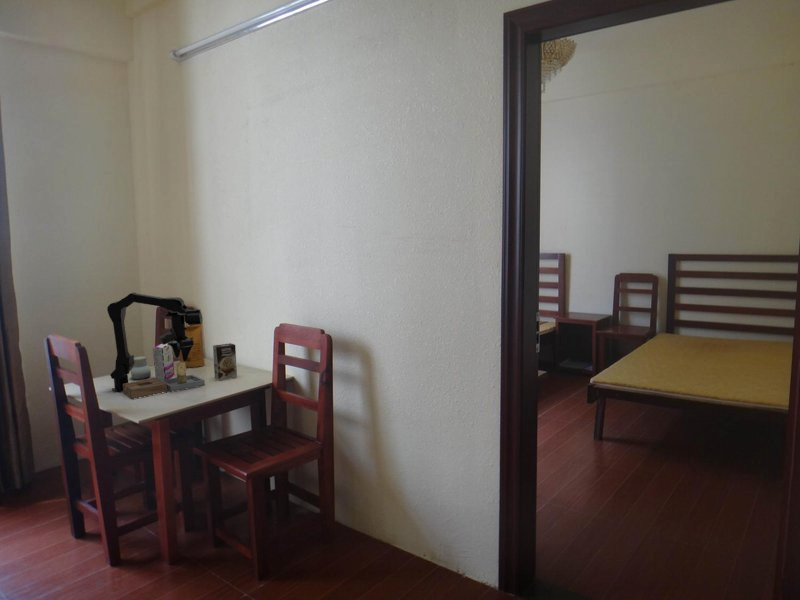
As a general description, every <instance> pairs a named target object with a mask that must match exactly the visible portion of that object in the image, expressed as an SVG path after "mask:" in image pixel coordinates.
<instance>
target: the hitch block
mask: <svg viewBox="0 0 800 600" xmlns="http://www.w3.org/2000/svg"><path fill="white" fill-rule="evenodd" d="M122 392H123V394H124V395H126V396H127V395H128V396H127V397H129V398H130V397H131V399H132V398H133V399H132V400H135V399H134V398H137V399H140V398H139V397H142V398H145V397H144V396H147V397H150V396H149V395H152V396H154V395H153V394H157V393H161V394H163V393H162V392H166V393H168V390H167V386H166V383H164V382H163V381H161V380H159V379H157V378H156V377H152V378H145V379H140V380H137V381H132V382H131V381H130V382H128V383H125V384H123V391H122ZM157 395H158V394H157Z"/></svg>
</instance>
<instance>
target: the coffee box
mask: <svg viewBox="0 0 800 600" xmlns="http://www.w3.org/2000/svg"><path fill="white" fill-rule="evenodd" d="M212 350H213V351H212V352H213V355H212V356H213V369H214V370H213V372H214V379H215V380H217V381H218V380H219V381H220V382H221V381H225V379H226V380H230V378H232V379H235V378H236V377H237V378H238V370H237V369H238V368H237V351H236V344H235V343H232V342H231V343H221V344H214V345H212ZM219 381H218V382H219Z"/></svg>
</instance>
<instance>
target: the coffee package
mask: <svg viewBox="0 0 800 600" xmlns="http://www.w3.org/2000/svg"><path fill="white" fill-rule="evenodd" d="M185 327H187V330H185V332H186V336H187V338H189V339H192V340H193V341H194V345H193V347H192V348H191V350H190V352H189V355H188V357H187V360H186V361H183V358H182V353H181V350H180V354H179V362H185V366H186V369H187V367H188V368H190V367H196V368H200V367H199V366H202V367H203V366H204V365H205V358H204V353H203V336H202V324H199V325H185Z"/></svg>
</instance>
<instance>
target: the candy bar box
mask: <svg viewBox="0 0 800 600" xmlns="http://www.w3.org/2000/svg"><path fill="white" fill-rule="evenodd" d="M152 352H153V353H152V354H153V362H154V363H153V364H154V373H155V374H154V375H155V378H157V379H159V380H166V379H168V378H169V379H171V378H173V377H174V376H175V364H174V351H173V349H172V347H171V346H170V345H168V344H165V345H164V344H161V343H160V344H158V345H156V346H154V347H152ZM173 375H174V376H173ZM170 377H171V378H170Z"/></svg>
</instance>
